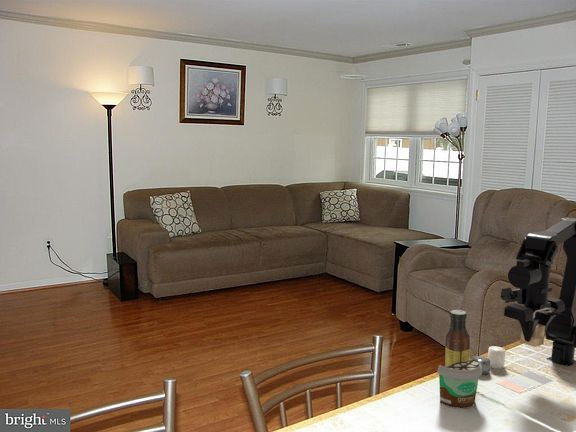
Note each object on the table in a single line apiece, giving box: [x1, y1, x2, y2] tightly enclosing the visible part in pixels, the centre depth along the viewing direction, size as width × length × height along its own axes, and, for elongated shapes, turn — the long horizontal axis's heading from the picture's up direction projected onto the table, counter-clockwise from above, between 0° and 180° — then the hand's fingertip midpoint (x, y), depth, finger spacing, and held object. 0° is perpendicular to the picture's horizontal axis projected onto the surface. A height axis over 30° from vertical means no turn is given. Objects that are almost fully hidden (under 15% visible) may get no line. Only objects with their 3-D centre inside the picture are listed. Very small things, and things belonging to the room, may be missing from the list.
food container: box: [436, 356, 483, 409], centre depth 128 cm, size 12×6×10 cm, turn 117°
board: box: [496, 370, 554, 395], centre depth 140 cm, size 14×7×1 cm, turn 123°
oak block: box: [520, 324, 546, 348], centre depth 139 cm, size 4×4×5 cm
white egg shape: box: [487, 345, 506, 370], centre depth 149 cm, size 4×4×6 cm
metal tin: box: [470, 355, 491, 376], centre depth 146 cm, size 5×5×4 cm
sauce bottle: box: [444, 309, 471, 367], centre depth 138 cm, size 6×6×20 cm
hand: (532, 339), depth 139 cm, fingers closed on oak block, 4 cm apart
